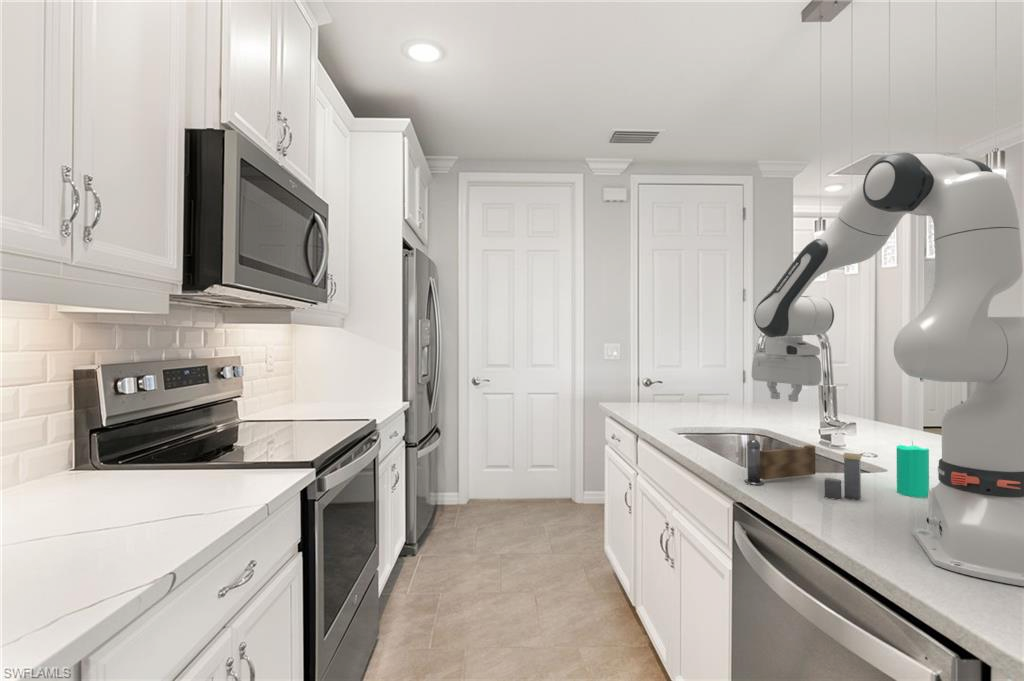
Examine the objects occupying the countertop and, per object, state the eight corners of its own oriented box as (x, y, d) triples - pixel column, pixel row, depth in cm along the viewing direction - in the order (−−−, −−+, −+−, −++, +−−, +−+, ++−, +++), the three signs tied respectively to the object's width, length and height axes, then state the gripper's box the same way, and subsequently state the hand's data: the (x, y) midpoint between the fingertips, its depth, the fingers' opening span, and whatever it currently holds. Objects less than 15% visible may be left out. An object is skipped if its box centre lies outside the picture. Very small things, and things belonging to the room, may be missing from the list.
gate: (764, 479, 130) (764, 450, 130) (759, 478, 132) (759, 449, 132) (815, 474, 135) (815, 446, 135) (810, 472, 136) (810, 445, 136)
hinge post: (761, 486, 127) (761, 441, 127) (742, 483, 130) (741, 439, 130) (765, 482, 131) (765, 438, 130) (746, 479, 133) (746, 437, 133)
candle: (934, 498, 117) (933, 444, 117) (902, 496, 119) (901, 442, 119) (923, 490, 122) (922, 439, 122) (892, 488, 124) (892, 437, 124)
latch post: (859, 502, 114) (859, 458, 114) (824, 497, 118) (824, 454, 118) (861, 497, 118) (861, 454, 118) (827, 492, 122) (827, 450, 122)
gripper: (745, 347, 149) (746, 396, 149) (805, 348, 129) (806, 405, 129) (763, 347, 151) (764, 395, 151) (825, 348, 131) (826, 404, 131)
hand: (784, 400), depth 140 cm, fingers open, 5 cm apart
